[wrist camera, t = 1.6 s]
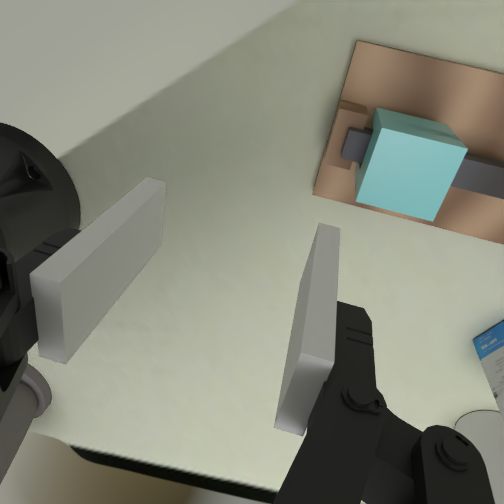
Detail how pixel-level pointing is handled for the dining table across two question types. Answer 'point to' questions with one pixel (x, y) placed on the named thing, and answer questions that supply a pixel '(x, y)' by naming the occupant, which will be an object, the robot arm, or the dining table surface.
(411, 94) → the cradle board
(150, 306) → the dining table surface
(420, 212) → the sleeve
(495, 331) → the ink box
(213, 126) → the dining table surface
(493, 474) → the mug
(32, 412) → the vase
